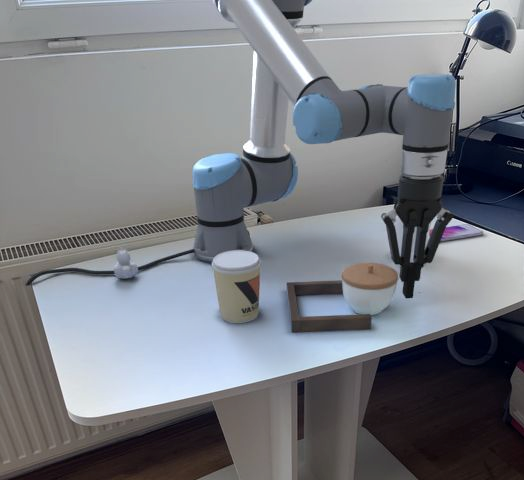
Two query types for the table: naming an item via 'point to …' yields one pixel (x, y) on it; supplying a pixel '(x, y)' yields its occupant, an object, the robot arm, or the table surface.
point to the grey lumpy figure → (124, 265)
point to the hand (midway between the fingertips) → (407, 295)
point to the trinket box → (369, 287)
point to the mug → (399, 233)
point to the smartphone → (459, 232)
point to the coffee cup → (237, 285)
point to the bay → (321, 321)
